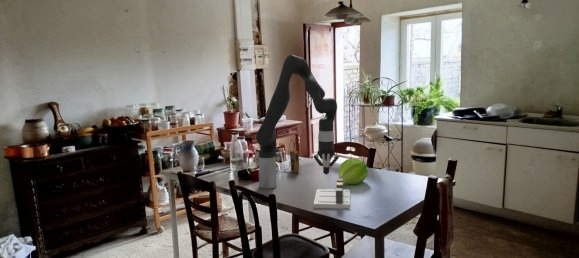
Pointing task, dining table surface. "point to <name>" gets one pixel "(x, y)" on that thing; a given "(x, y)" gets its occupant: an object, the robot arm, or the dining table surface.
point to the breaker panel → (331, 199)
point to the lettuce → (353, 171)
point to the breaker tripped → (340, 186)
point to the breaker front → (338, 195)
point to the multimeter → (294, 160)
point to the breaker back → (339, 179)
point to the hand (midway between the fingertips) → (326, 174)
